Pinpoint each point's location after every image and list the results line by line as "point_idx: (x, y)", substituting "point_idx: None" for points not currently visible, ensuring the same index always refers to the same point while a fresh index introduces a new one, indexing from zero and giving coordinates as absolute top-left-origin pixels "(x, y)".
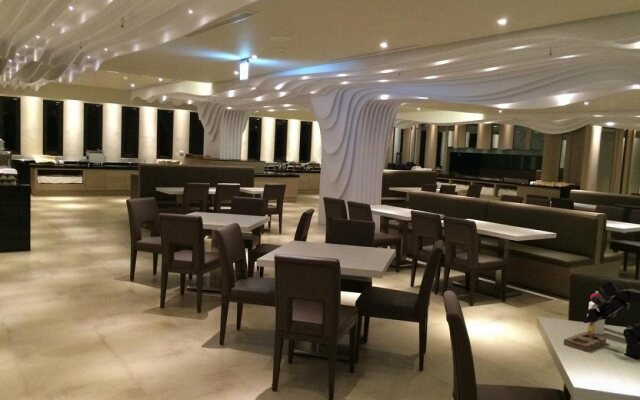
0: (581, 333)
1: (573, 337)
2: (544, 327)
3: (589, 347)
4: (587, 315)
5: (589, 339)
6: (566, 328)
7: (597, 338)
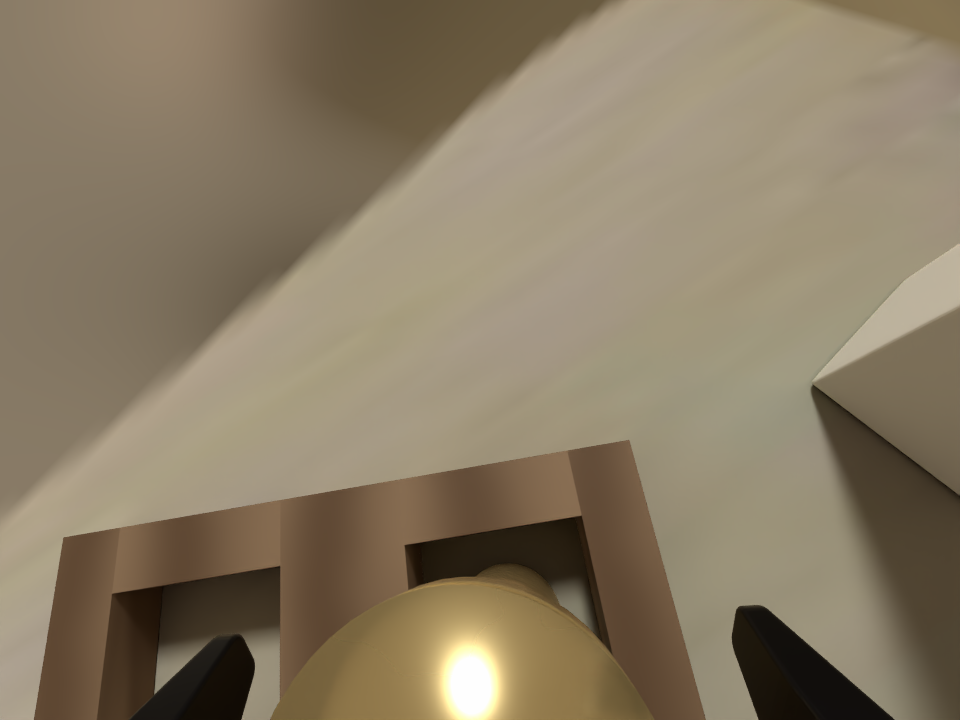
0: (519, 468)
1: (248, 537)
2: (454, 130)
3: None
4: (290, 684)
5: None
6: (660, 200)
7: None
